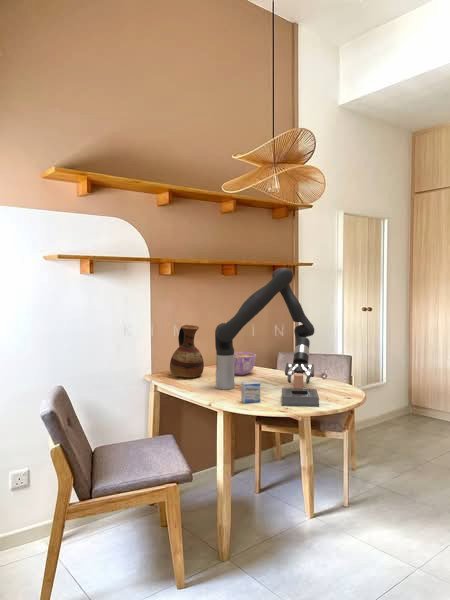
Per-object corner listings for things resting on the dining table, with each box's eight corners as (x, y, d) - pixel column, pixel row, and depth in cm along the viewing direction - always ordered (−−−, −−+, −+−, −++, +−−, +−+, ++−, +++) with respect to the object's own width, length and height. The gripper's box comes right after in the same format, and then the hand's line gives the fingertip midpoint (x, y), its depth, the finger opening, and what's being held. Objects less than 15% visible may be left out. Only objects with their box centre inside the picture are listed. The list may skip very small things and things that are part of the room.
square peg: (293, 393, 219) (293, 375, 218) (293, 391, 223) (293, 373, 223) (303, 394, 218) (303, 375, 218) (302, 391, 222) (302, 373, 222)
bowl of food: (251, 378, 255) (251, 357, 254) (218, 376, 261) (218, 356, 261) (260, 371, 274) (260, 352, 273) (228, 369, 280) (228, 351, 280)
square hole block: (281, 405, 198) (281, 396, 198) (281, 396, 214) (281, 388, 213) (318, 406, 196) (318, 397, 196) (316, 397, 212) (316, 388, 211)
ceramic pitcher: (181, 381, 247) (180, 327, 246) (163, 375, 264) (163, 324, 263) (210, 377, 259) (210, 325, 258) (192, 371, 275) (191, 322, 274)
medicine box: (244, 403, 201) (244, 384, 201) (241, 401, 206) (241, 382, 205) (260, 402, 203) (260, 383, 203) (257, 399, 208) (257, 381, 207)
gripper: (286, 350, 230) (282, 377, 219) (314, 351, 225) (312, 379, 215) (288, 359, 235) (284, 386, 224) (316, 360, 231) (313, 387, 220)
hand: (298, 382), depth 220 cm, fingers open, 8 cm apart
